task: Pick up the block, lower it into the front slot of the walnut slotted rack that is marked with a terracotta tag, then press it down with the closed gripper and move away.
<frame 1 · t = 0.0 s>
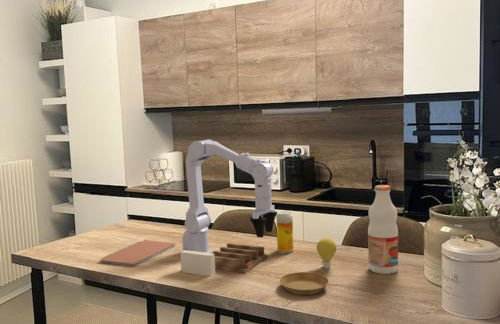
hand: (264, 234, 163), 10 cm above the table, tool pointing down, fingers open, 7 cm apart
fruit juice: (383, 270, 151), on the table
block: (198, 272, 155), on the table
beer can: (285, 251, 175), on the table
rack: (235, 262, 165), on the table
notebook: (139, 255, 180), on the table
light bulb: (326, 267, 156), on the table
plant saucer: (304, 289, 139), on the table
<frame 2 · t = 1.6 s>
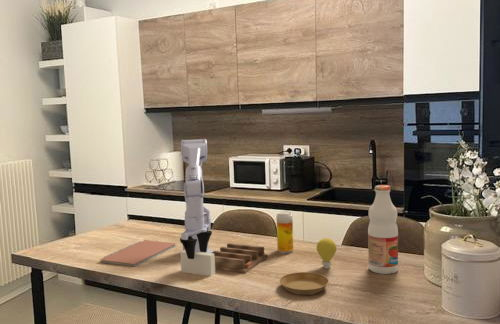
hand: (197, 255, 155), 6 cm above the table, tool pointing down, fingers open, 7 cm apart
nothing on the table moved.
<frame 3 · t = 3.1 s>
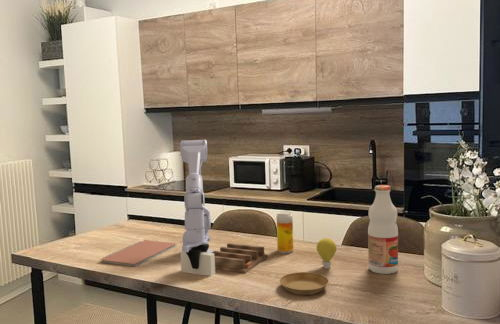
hand: (197, 267, 155), 2 cm above the table, tool pointing down, fingers closed on block, 2 cm apart
block: (198, 272, 155), on the table, touching gripper
everything else where it was.
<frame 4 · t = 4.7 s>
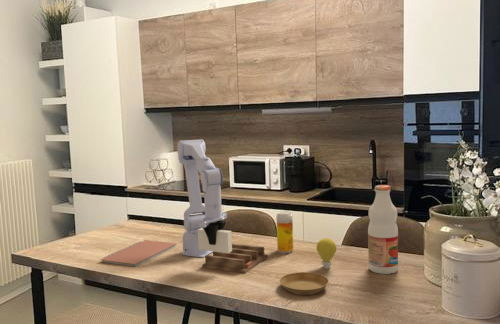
hand: (214, 243, 157), 9 cm above the table, tool pointing down, fingers closed on block, 2 cm apart
block: (215, 250, 157), point 7 cm above the table, touching gripper
everything else where it was.
when the fingers open (5 cm above the table, at t = 6.1 s): block stays where it is, resting on rack.
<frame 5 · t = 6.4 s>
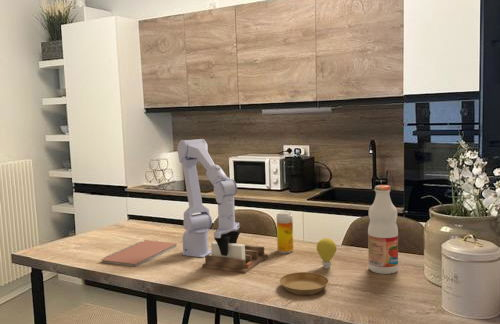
hand: (228, 253, 160), 5 cm above the table, tool pointing down, fingers open, 5 cm apart
block: (228, 263, 160), point 1 cm above the table, touching rack
everything else where it was.
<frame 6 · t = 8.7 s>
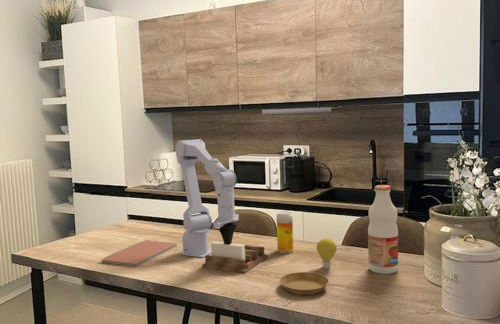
hand: (227, 244, 159), 8 cm above the table, tool pointing down, fingers closed, pressing on block
block: (228, 263, 160), point 1 cm above the table, touching gripper, rack
everything else where it was.
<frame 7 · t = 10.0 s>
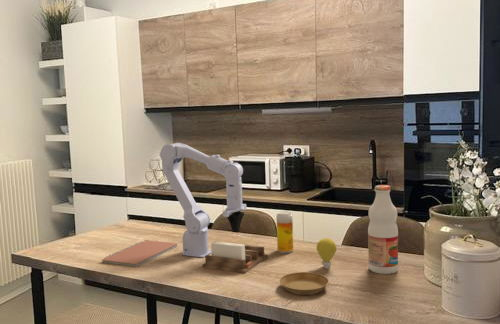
hand: (235, 231, 170), 9 cm above the table, tool pointing down, fingers closed
block: (228, 263, 160), point 1 cm above the table, touching rack
everything else where it was.
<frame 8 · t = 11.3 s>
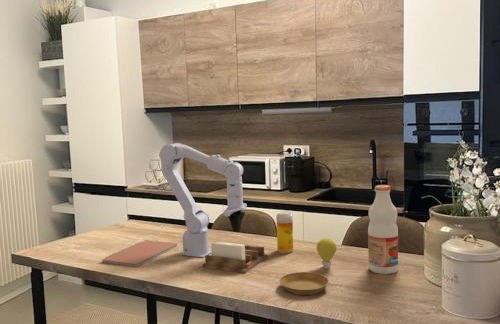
hand: (236, 231, 171), 9 cm above the table, tool pointing down, fingers closed
nothing on the table moved.
at the end: block inside the target area on the rack (0.0 cm from its centre), point 1.2 cm above the rack's base; block tilted 0°; the gripper is holding nothing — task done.
